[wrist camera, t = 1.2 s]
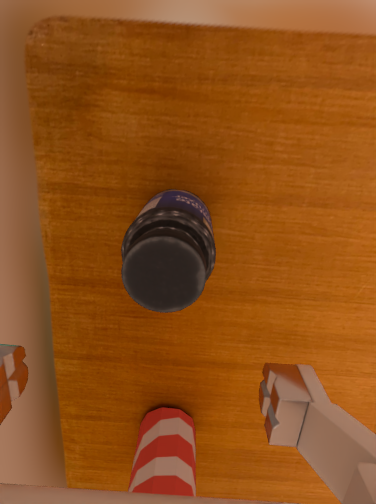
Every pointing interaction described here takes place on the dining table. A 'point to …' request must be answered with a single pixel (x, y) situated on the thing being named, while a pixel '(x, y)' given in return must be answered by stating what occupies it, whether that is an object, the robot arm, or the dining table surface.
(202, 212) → the pill bottle
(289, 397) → the robot arm
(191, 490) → the beverage can
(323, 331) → the dining table surface
